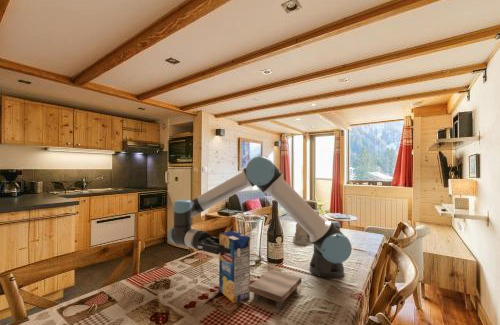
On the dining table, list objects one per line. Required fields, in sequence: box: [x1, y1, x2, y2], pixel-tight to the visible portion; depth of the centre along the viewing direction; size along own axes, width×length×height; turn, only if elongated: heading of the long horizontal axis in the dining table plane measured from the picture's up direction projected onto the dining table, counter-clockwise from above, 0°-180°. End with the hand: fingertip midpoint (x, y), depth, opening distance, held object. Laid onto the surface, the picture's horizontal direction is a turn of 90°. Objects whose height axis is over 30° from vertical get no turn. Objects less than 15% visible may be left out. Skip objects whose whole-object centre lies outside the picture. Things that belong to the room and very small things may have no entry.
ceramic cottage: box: [292, 222, 314, 246], centre depth 156 cm, size 16×16×15 cm
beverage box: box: [218, 230, 251, 304], centre depth 91 cm, size 7×11×22 cm, turn 35°
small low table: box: [249, 268, 302, 310], centre depth 90 cm, size 17×13×5 cm
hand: (243, 250), depth 88 cm, fingers open, 5 cm apart
